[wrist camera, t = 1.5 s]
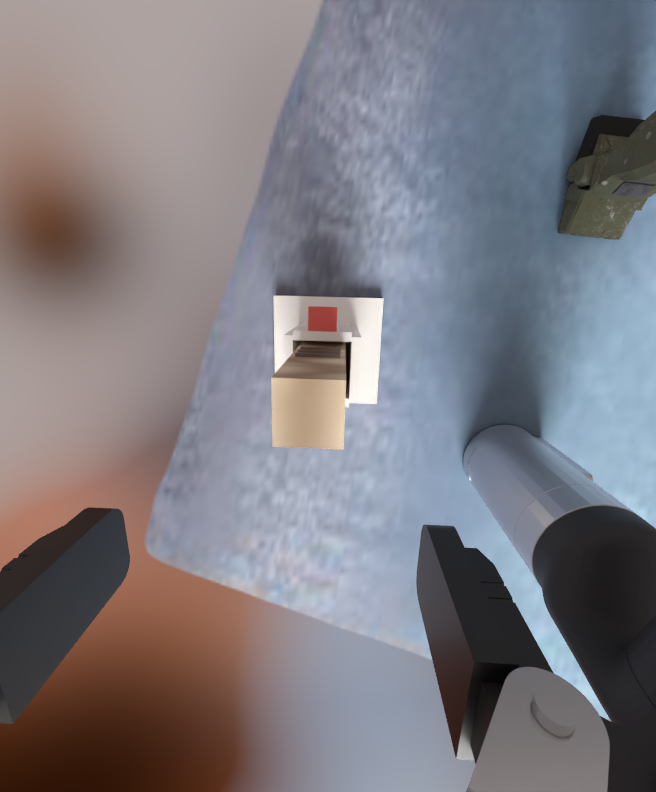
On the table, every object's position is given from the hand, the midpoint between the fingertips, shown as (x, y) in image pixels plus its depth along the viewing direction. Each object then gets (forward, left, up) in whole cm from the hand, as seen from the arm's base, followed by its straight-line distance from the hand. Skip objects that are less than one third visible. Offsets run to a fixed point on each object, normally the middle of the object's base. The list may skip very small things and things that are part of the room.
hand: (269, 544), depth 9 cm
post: (0, 0, -32) cm, 32 cm away
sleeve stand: (0, 0, -34) cm, 34 cm away
